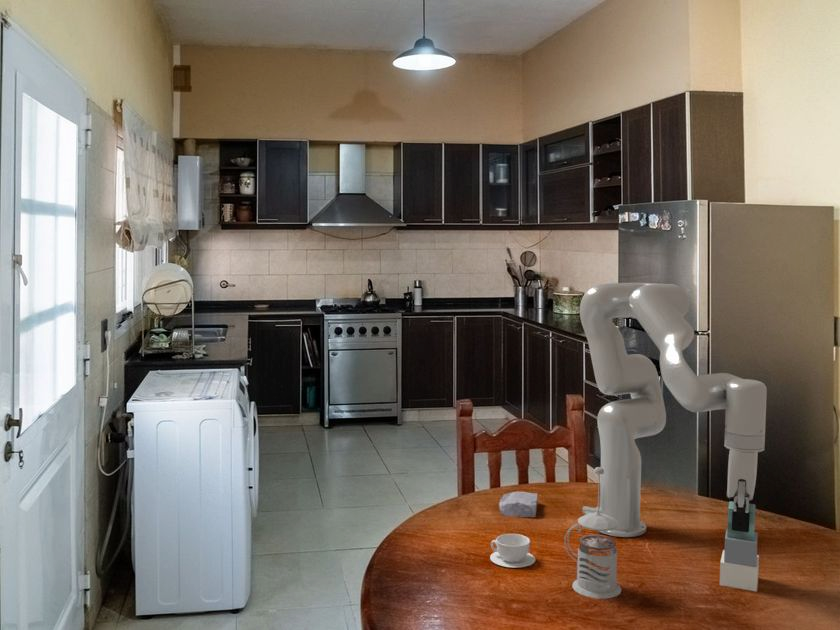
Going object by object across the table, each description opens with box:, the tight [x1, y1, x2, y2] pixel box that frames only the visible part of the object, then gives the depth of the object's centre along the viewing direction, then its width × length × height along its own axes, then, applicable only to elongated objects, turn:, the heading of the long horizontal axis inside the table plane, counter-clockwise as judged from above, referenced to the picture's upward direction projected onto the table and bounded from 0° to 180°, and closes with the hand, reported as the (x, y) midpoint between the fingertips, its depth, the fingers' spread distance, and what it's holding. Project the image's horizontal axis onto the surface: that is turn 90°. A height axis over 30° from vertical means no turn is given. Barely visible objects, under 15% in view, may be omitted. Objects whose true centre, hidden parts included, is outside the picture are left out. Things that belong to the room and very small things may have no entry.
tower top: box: [724, 528, 758, 567], centre depth 159 cm, size 6×6×5 cm
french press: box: [564, 466, 622, 600], centre depth 157 cm, size 10×12×25 cm
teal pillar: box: [726, 500, 756, 541], centre depth 159 cm, size 5×5×6 cm
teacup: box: [489, 533, 536, 569], centre depth 171 cm, size 10×10×5 cm
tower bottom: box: [719, 549, 760, 592], centre depth 160 cm, size 7×7×5 cm
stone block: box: [498, 491, 539, 519], centre depth 203 cm, size 12×5×10 cm
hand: (741, 523), depth 159 cm, fingers open, 9 cm apart
